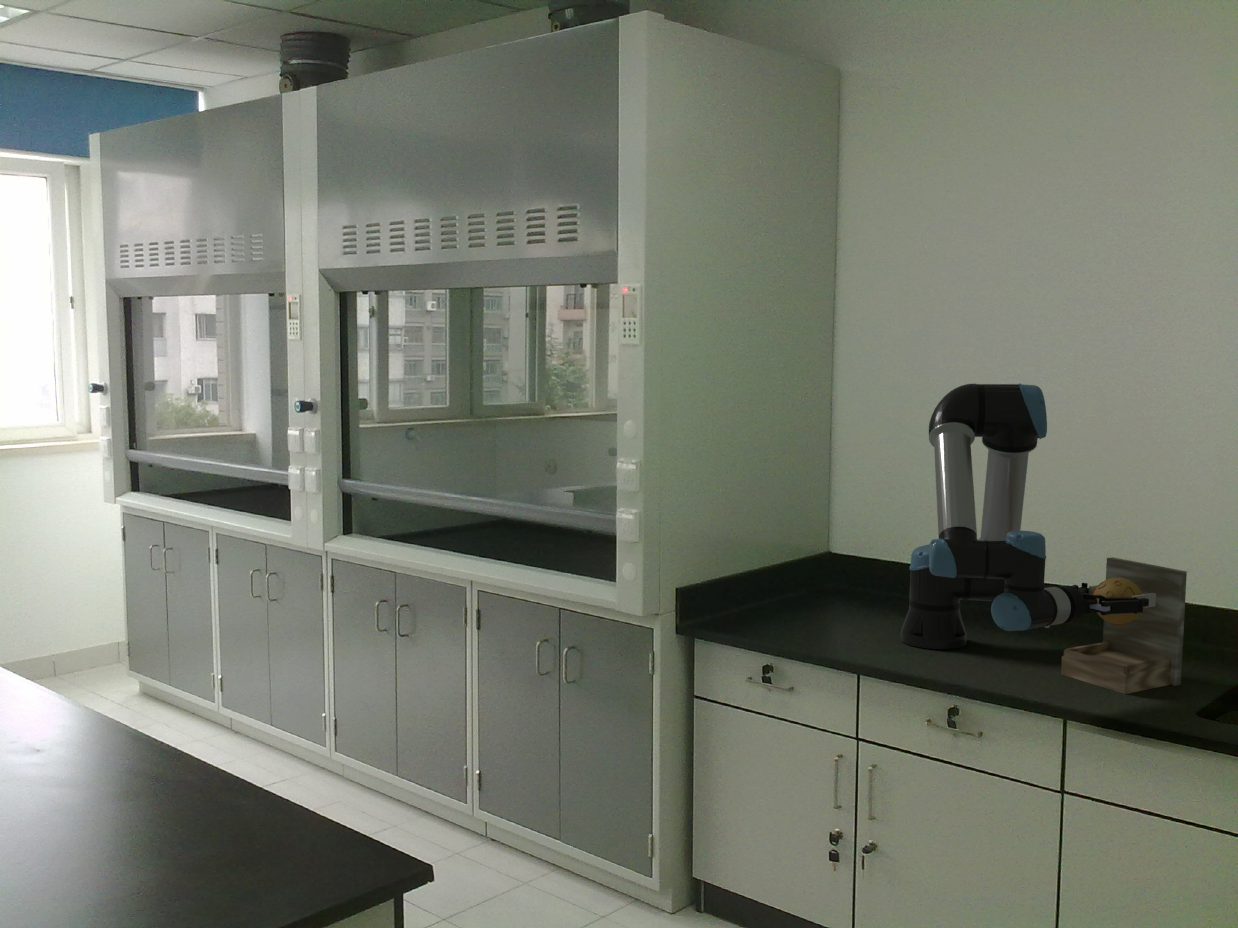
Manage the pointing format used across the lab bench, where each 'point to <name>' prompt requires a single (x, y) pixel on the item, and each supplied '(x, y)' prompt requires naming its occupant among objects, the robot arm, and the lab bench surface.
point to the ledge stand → (1137, 636)
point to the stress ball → (1118, 589)
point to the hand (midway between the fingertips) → (1132, 594)
